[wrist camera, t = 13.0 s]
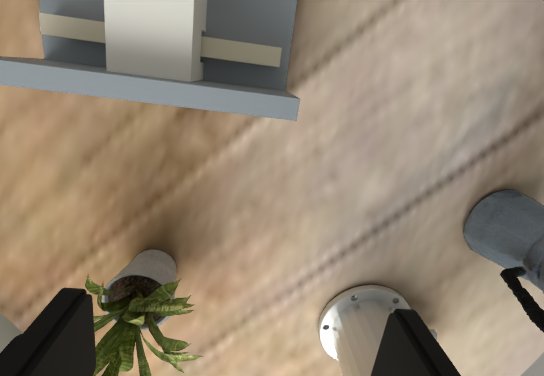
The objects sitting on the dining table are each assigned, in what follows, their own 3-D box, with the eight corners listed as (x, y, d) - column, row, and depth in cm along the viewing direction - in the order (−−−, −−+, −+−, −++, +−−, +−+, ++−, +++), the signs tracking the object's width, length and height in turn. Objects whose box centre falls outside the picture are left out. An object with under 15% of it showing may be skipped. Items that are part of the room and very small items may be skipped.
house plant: (209, 329, 43) (187, 474, 27) (98, 319, 41) (8, 467, 26) (223, 232, 38) (206, 341, 23) (99, 216, 36) (-9, 322, 21)
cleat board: (302, -56, 29) (334, -131, 18) (281, 104, 34) (296, 120, 23) (39, -103, 27) (-102, -221, 16) (55, 76, 31) (-47, 79, 21)
